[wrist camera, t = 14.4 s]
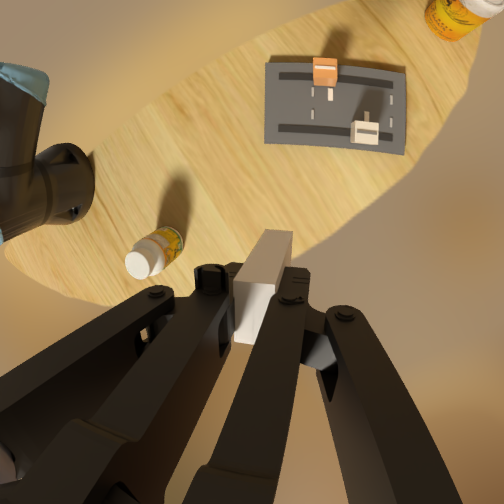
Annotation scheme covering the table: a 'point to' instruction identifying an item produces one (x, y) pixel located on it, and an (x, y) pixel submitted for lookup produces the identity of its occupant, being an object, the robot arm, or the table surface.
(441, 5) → the beer can
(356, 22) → the table surface
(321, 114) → the console
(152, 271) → the supplement bottle
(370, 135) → the cream fader
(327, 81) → the orange fader
